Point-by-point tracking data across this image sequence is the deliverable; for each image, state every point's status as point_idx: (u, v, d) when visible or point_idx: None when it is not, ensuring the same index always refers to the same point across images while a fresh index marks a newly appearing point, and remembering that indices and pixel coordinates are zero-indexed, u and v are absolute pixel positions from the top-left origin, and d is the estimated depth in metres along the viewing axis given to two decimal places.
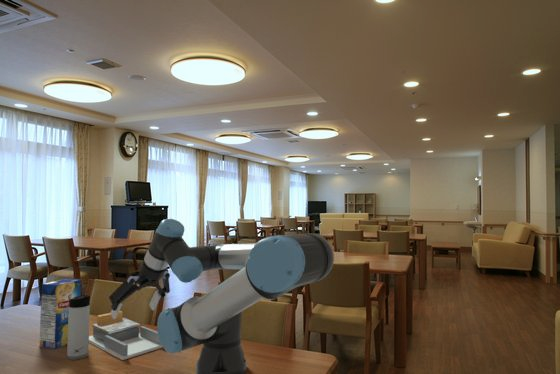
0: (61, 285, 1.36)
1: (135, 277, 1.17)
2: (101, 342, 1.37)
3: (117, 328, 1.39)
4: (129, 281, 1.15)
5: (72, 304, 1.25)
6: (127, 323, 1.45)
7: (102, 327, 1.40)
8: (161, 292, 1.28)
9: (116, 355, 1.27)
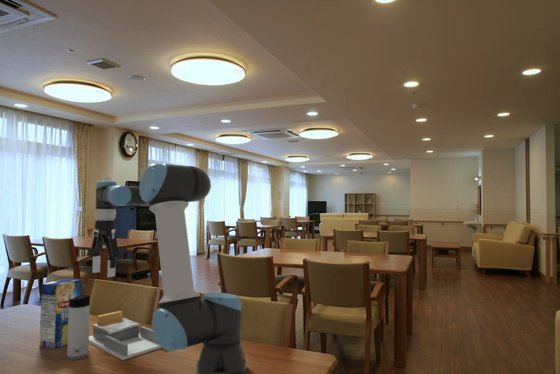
0: (61, 285, 1.36)
1: None
2: (101, 342, 1.37)
3: (117, 328, 1.39)
4: None
5: (72, 304, 1.25)
6: (127, 323, 1.45)
7: (102, 327, 1.40)
8: (108, 255, 1.47)
9: (116, 355, 1.27)
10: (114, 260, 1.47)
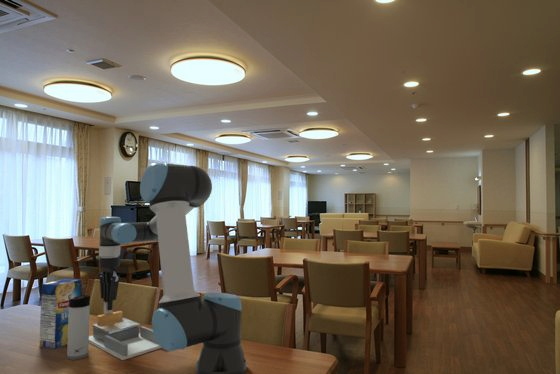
0: (61, 285, 1.36)
1: None
2: (101, 342, 1.37)
3: (117, 328, 1.39)
4: None
5: (72, 304, 1.25)
6: (127, 323, 1.45)
7: (102, 327, 1.40)
8: (107, 296, 1.47)
9: (116, 355, 1.27)
10: (111, 302, 1.47)
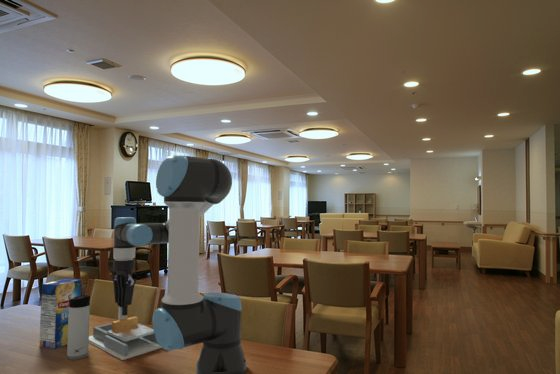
0: (61, 285, 1.36)
1: None
2: (101, 342, 1.37)
3: (133, 335, 1.31)
4: None
5: (72, 304, 1.25)
6: (143, 329, 1.37)
7: (117, 334, 1.32)
8: (121, 301, 1.39)
9: (116, 355, 1.27)
10: (126, 307, 1.40)
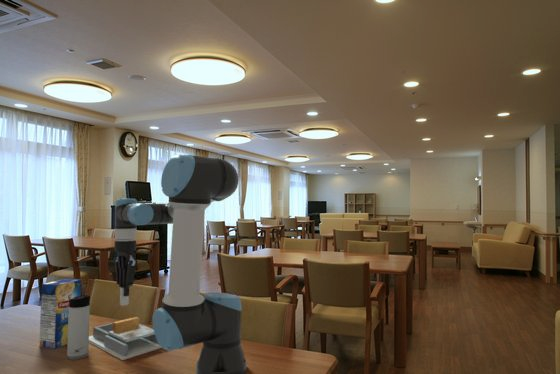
0: (61, 285, 1.36)
1: None
2: (101, 342, 1.37)
3: (135, 336, 1.31)
4: None
5: (72, 304, 1.25)
6: (144, 330, 1.37)
7: (119, 335, 1.32)
8: (123, 281, 1.39)
9: (116, 355, 1.27)
10: (128, 288, 1.40)
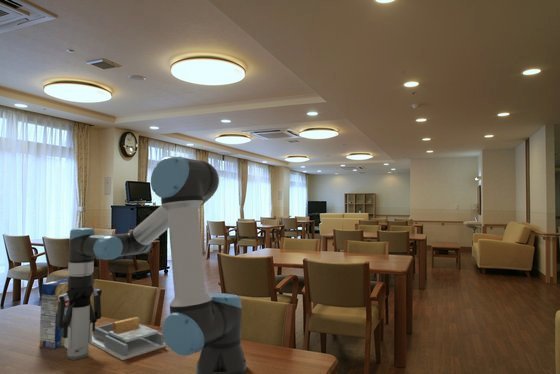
0: (61, 285, 1.36)
1: (64, 294, 1.24)
2: (101, 342, 1.37)
3: (135, 336, 1.31)
4: (59, 300, 1.23)
5: None
6: (144, 330, 1.37)
7: (119, 335, 1.32)
8: (92, 316, 1.30)
9: (116, 355, 1.27)
10: None
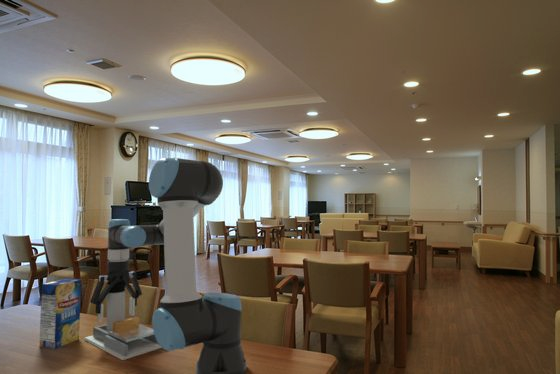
0: (61, 285, 1.36)
1: (104, 276, 1.40)
2: (101, 342, 1.37)
3: (135, 336, 1.31)
4: (100, 279, 1.39)
5: (110, 290, 1.41)
6: (144, 330, 1.37)
7: (119, 335, 1.32)
8: (134, 293, 1.48)
9: (116, 355, 1.27)
10: None
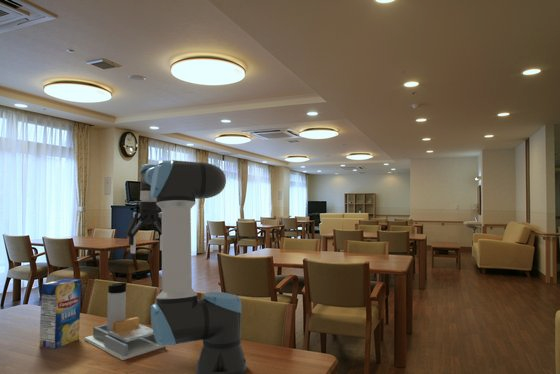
0: (61, 285, 1.36)
1: (138, 213, 1.58)
2: (101, 342, 1.37)
3: (135, 336, 1.31)
4: (134, 215, 1.56)
5: (111, 290, 1.41)
6: (144, 330, 1.37)
7: (119, 335, 1.32)
8: None
9: (116, 355, 1.27)
10: None
